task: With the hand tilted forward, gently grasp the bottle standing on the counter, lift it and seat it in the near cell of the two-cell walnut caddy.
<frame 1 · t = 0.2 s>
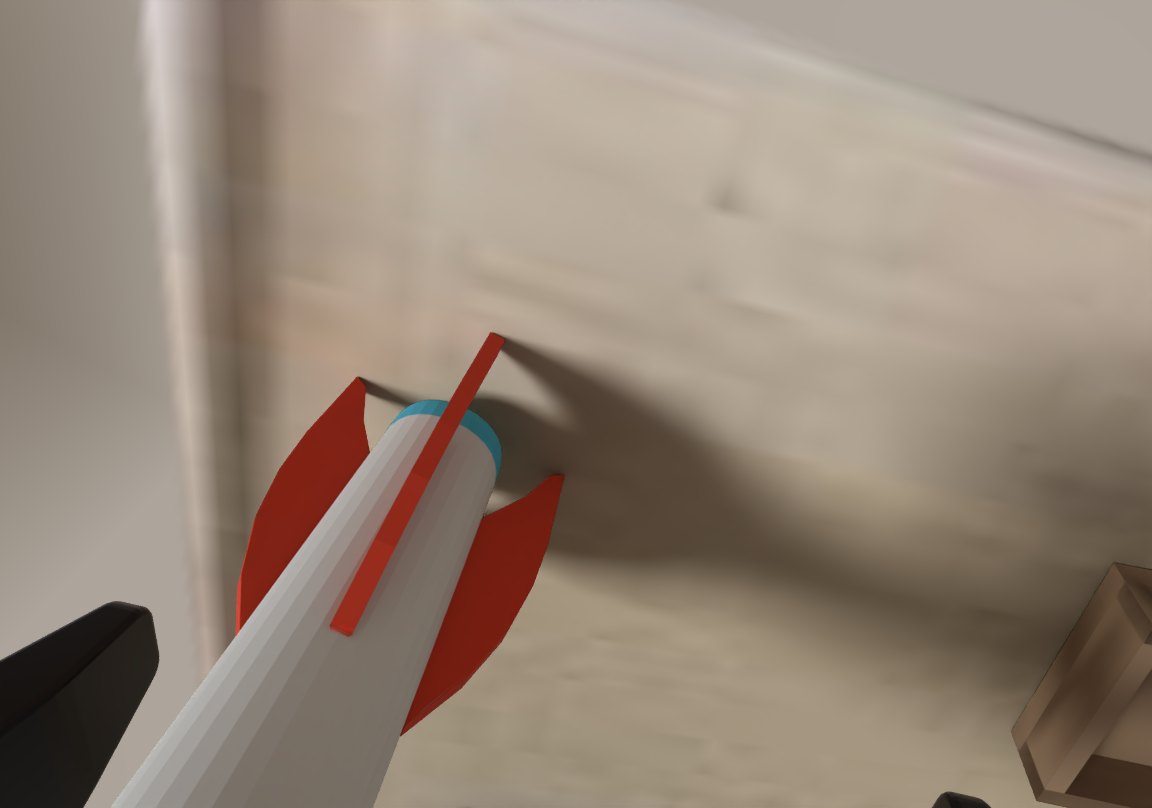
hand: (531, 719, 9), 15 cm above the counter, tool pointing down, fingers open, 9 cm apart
toy rocket: (461, 428, 25), on the counter
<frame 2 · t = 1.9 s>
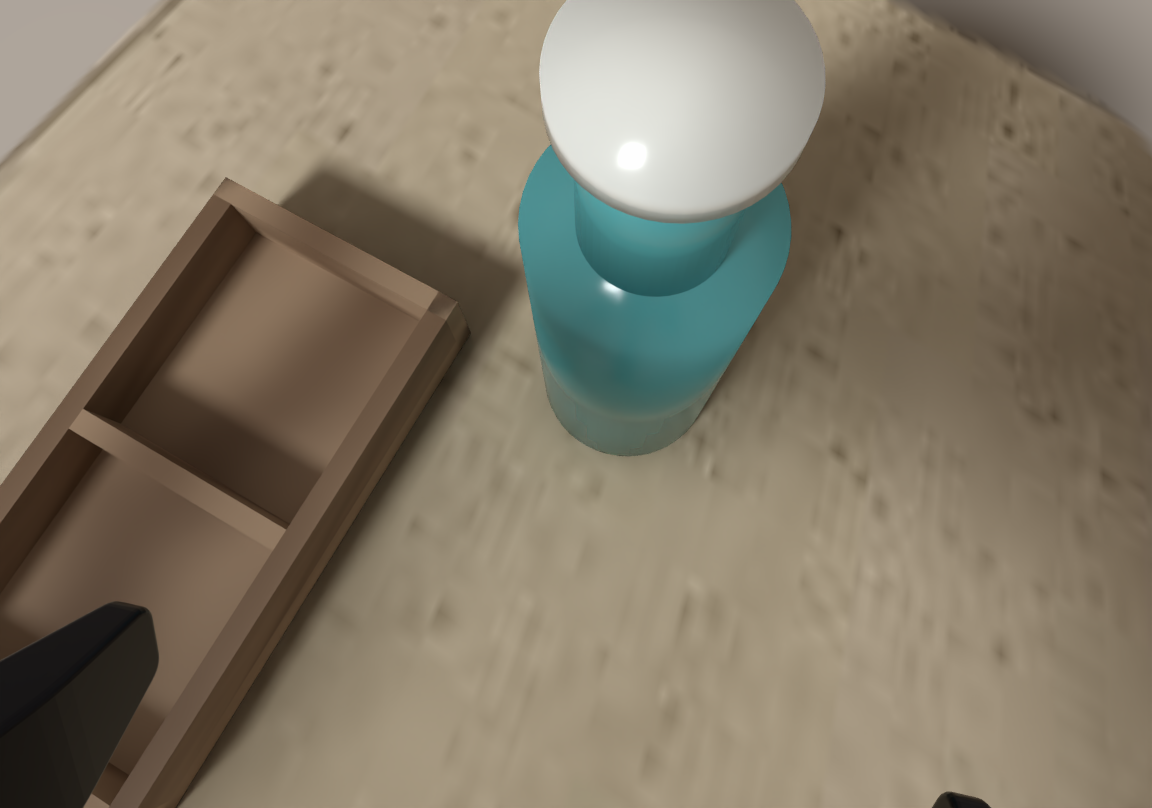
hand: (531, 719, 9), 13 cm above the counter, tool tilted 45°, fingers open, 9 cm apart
bottle: (626, 375, 24), on the counter
caddy: (219, 492, 23), on the counter
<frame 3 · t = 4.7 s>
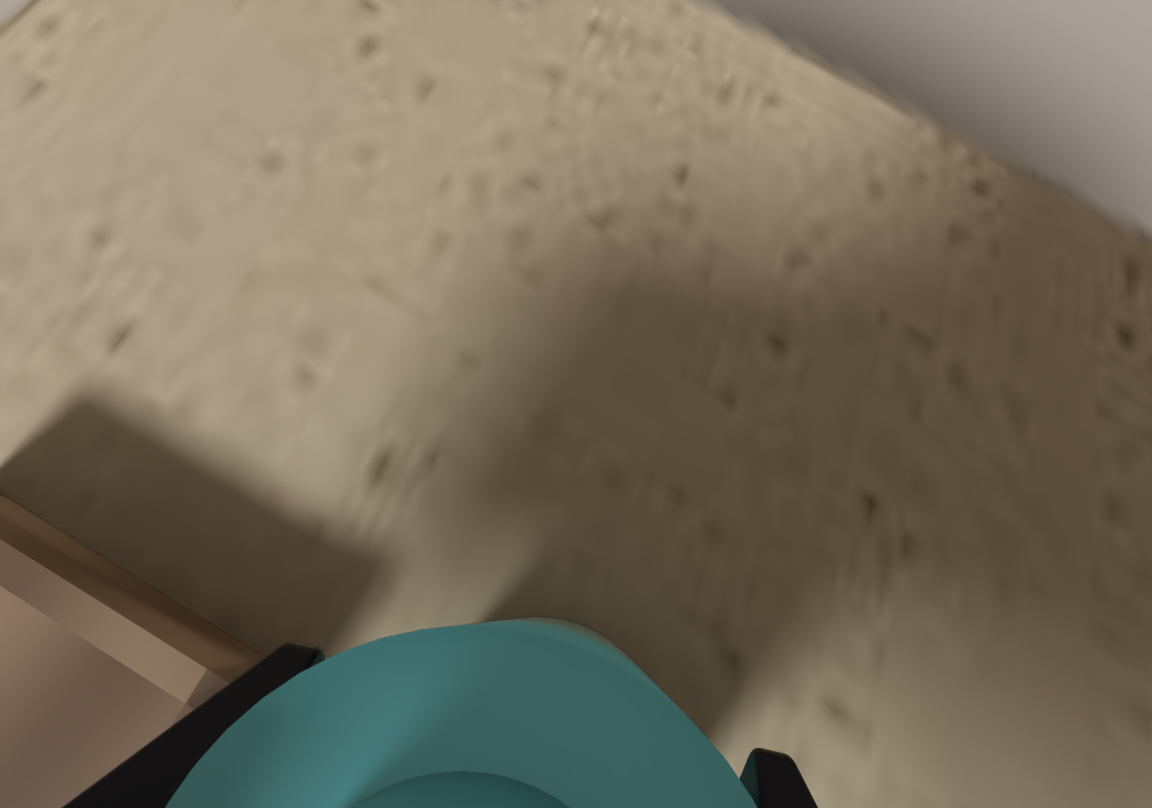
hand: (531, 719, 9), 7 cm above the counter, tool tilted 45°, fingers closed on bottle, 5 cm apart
bottle: (536, 750, 15), on the counter, touching gripper
when the fingers open (9 cm above the counter, at t = 8.5 s): bottle drops 1 cm, resting on caddy.
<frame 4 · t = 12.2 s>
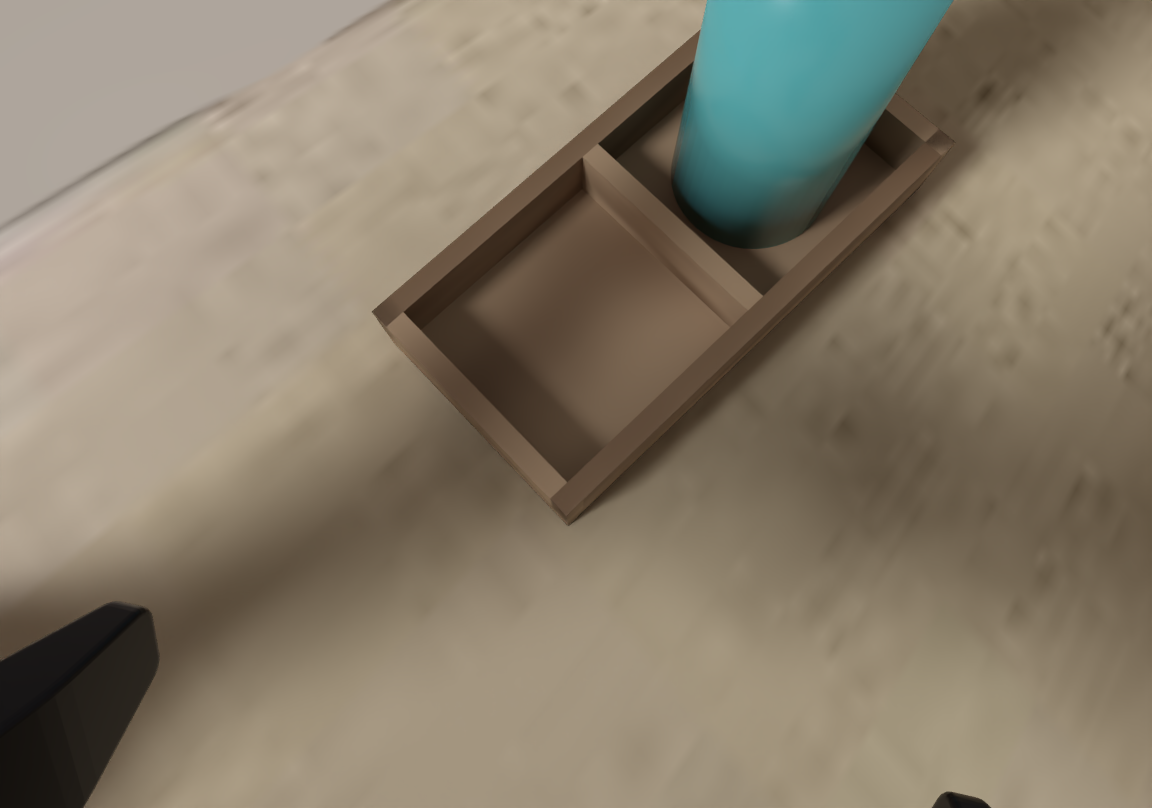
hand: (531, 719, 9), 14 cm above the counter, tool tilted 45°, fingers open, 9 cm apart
bottle: (749, 176, 25), point 1 cm above the counter, touching caddy
caddy: (661, 263, 25), on the counter
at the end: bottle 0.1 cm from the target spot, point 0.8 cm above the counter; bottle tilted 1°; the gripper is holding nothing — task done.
